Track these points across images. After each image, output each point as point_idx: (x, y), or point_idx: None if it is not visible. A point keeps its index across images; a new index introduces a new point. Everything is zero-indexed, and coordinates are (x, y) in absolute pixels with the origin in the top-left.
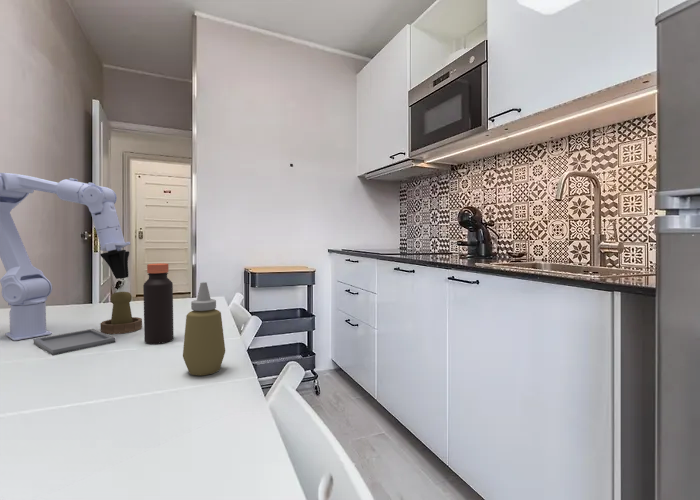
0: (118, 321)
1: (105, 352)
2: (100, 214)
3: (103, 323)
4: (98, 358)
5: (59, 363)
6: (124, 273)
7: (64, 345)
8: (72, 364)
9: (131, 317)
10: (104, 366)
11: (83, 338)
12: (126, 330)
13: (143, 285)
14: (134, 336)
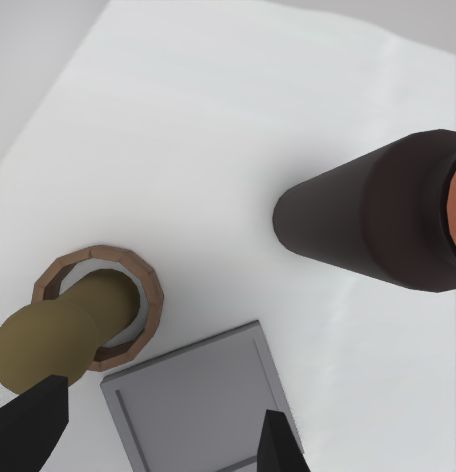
0: (123, 322)
1: (341, 340)
2: None
3: (104, 363)
4: (381, 352)
5: (373, 420)
6: (293, 435)
7: (241, 432)
8: (395, 396)
9: (101, 283)
10: (445, 339)
11: (188, 397)
12: (161, 293)
13: (436, 292)
14: (218, 273)
